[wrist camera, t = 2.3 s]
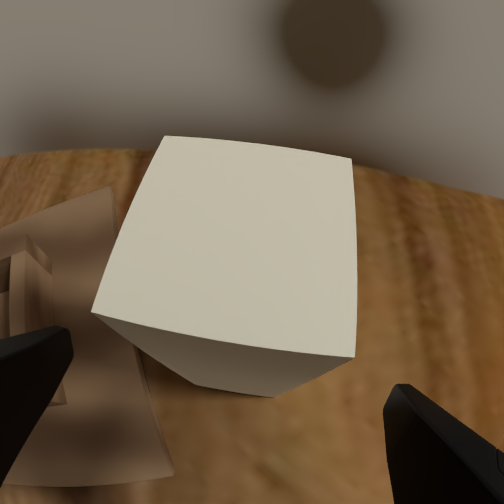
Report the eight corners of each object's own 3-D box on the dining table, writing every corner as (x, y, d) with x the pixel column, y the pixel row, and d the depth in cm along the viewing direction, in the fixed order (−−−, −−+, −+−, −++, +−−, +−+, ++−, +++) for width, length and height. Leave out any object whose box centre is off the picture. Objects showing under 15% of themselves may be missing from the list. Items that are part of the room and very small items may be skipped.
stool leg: (273, 397, 16) (354, 357, 5) (195, 384, 16) (90, 311, 5) (283, 324, 18) (351, 158, 7) (210, 312, 18) (164, 135, 7)
